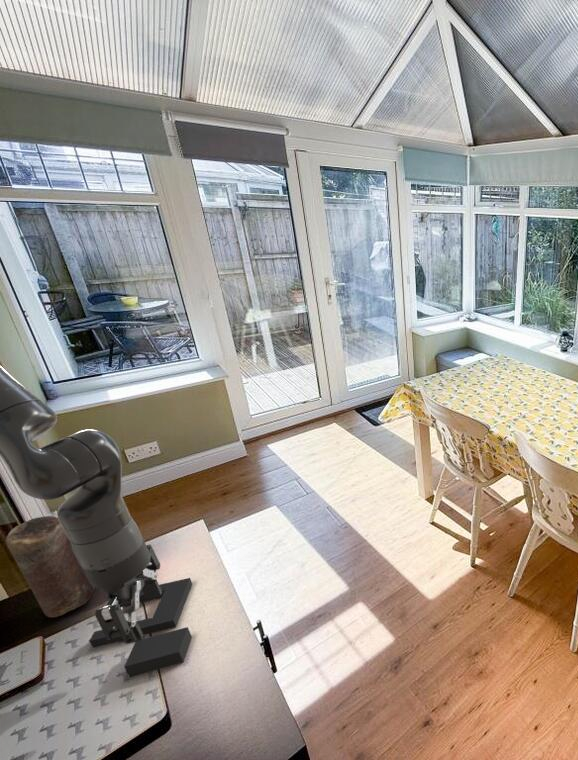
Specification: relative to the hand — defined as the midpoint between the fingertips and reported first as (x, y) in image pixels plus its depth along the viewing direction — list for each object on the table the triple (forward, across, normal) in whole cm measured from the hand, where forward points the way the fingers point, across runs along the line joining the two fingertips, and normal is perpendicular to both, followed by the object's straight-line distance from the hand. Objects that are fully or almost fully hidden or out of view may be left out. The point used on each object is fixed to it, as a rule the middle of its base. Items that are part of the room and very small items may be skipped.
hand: (145, 617), depth 72 cm
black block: (+10, 0, 0) cm, 10 cm away
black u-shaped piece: (+10, -11, -6) cm, 16 cm away
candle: (+10, -18, -21) cm, 30 cm away
